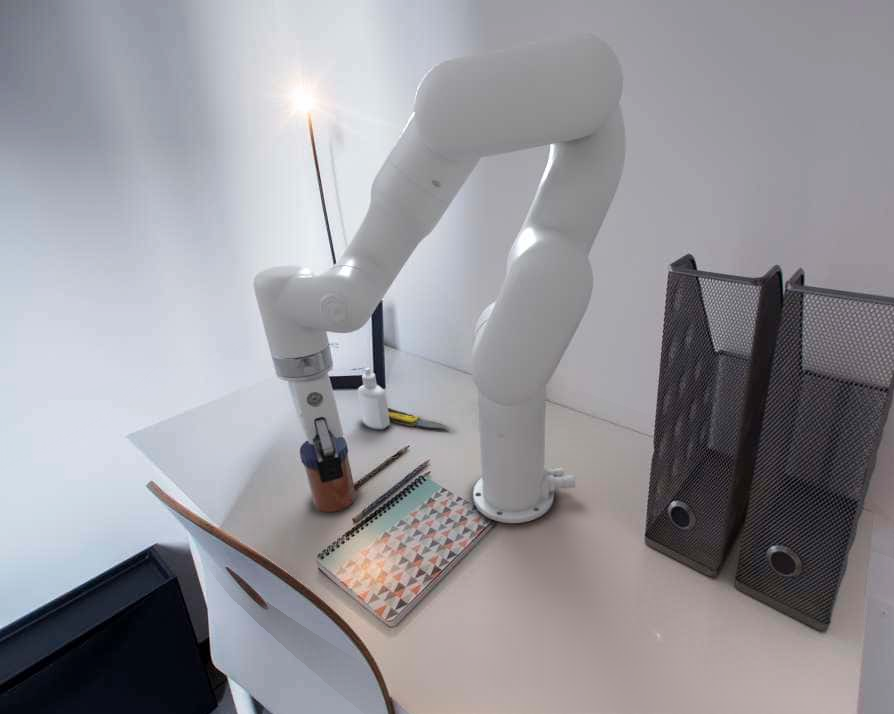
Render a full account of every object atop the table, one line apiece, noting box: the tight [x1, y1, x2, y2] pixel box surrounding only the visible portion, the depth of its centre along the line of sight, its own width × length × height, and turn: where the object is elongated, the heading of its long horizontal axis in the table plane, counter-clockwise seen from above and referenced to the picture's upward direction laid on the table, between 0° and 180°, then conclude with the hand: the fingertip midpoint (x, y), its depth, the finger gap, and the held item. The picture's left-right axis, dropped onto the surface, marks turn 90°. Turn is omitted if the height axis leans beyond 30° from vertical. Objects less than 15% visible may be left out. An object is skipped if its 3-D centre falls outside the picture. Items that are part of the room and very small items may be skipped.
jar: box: [304, 455, 357, 513], centre depth 81 cm, size 6×6×10 cm
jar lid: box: [299, 435, 349, 469], centre depth 79 cm, size 7×7×2 cm
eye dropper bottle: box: [357, 367, 391, 430], centre depth 100 cm, size 4×6×12 cm
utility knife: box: [388, 407, 450, 430], centre depth 103 cm, size 16×1×3 cm
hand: (327, 465), depth 81 cm, fingers closed on jar lid, 6 cm apart
